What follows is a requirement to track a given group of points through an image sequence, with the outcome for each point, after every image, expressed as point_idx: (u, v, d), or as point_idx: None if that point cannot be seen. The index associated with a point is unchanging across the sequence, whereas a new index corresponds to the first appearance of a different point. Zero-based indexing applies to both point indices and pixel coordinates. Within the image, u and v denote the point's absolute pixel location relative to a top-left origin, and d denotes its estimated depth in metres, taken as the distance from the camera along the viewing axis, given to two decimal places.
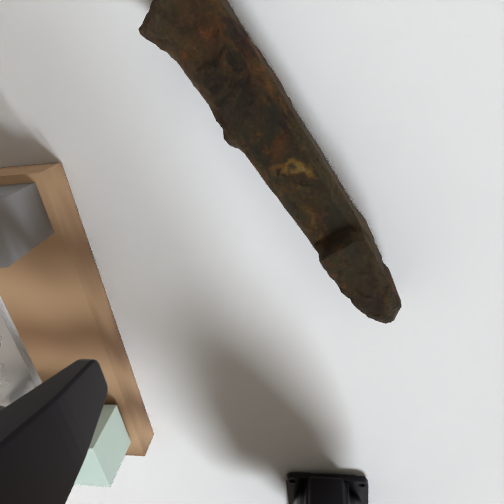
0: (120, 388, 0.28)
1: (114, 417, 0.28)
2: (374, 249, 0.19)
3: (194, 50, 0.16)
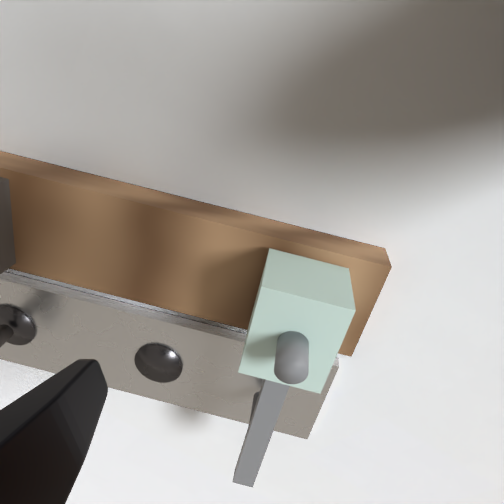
0: (247, 229, 0.20)
1: (278, 257, 0.19)
2: None
3: None
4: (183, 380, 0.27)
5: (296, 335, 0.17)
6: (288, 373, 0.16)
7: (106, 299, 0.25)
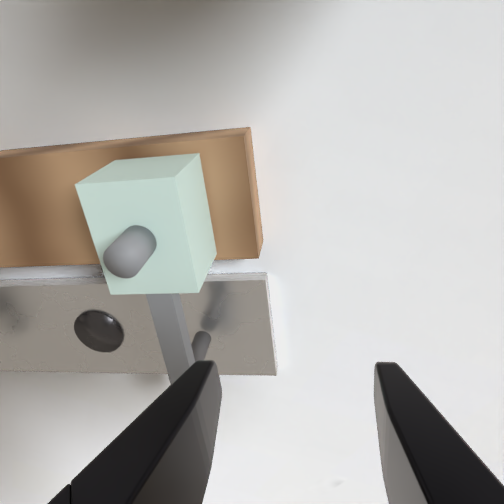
0: (90, 149, 0.19)
1: (118, 163, 0.18)
2: None
3: None
4: (129, 343, 0.26)
5: (132, 228, 0.15)
6: (120, 265, 0.15)
7: (29, 280, 0.25)
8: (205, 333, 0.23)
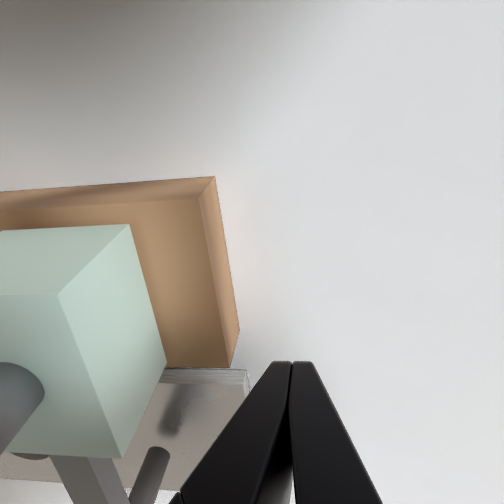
0: None
1: (1, 240, 0.11)
2: None
3: None
4: None
5: None
6: None
7: None
8: (161, 450, 0.17)
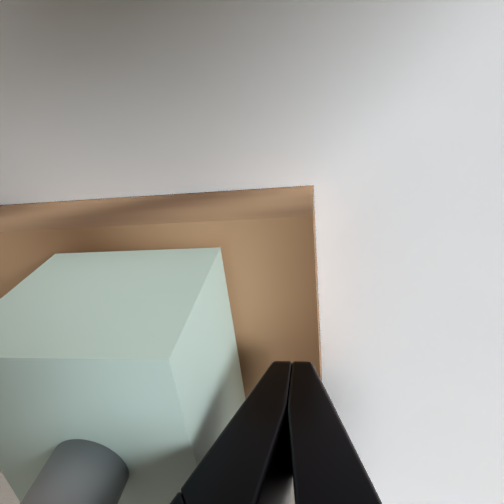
0: (11, 229, 0.10)
1: (58, 267, 0.09)
2: None
3: None
4: None
5: (71, 453, 0.07)
6: None
7: None
8: None
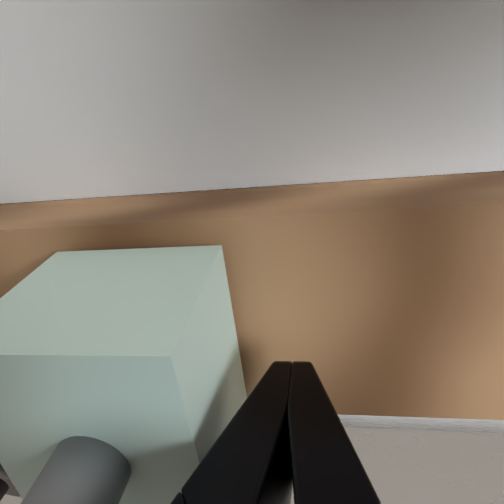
0: (329, 211, 0.08)
1: (59, 264, 0.09)
2: None
3: None
4: None
5: (73, 449, 0.07)
6: None
7: None
8: None
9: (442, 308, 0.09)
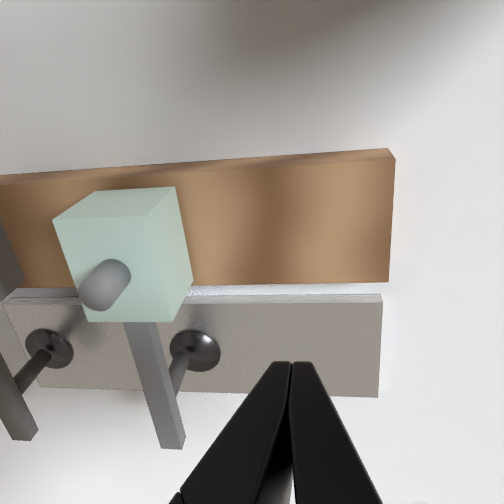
0: (226, 169, 0.18)
1: (97, 195, 0.18)
2: None
3: None
4: (225, 363, 0.25)
5: (107, 261, 0.16)
6: (94, 299, 0.15)
7: None
8: (184, 353, 0.24)
9: (283, 219, 0.19)
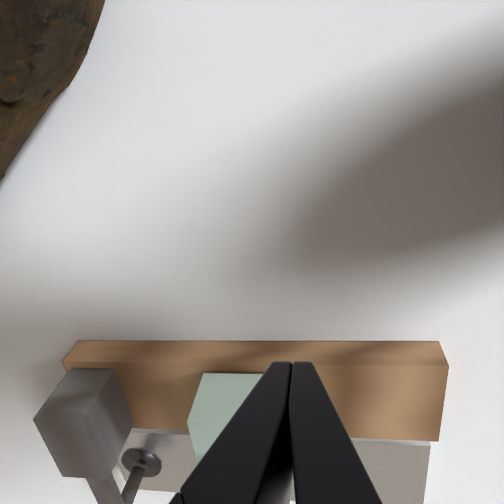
0: None
1: (208, 381, 0.23)
2: None
3: None
4: (293, 480, 0.30)
5: None
6: None
7: None
8: None
9: (355, 396, 0.23)
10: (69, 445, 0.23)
